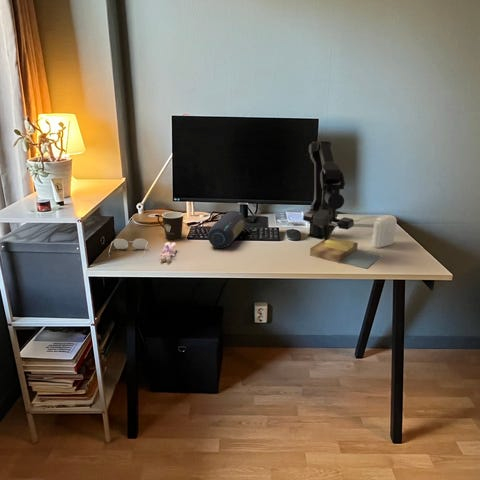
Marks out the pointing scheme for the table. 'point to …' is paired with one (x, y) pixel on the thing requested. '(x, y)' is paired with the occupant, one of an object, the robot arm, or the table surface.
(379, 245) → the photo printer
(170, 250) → the rabbit figure
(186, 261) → the table surface
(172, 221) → the coffee mug
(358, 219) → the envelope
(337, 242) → the pale yellow foam brick
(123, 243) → the sunglasses
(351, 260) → the mat
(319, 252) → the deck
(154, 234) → the table surface
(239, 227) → the portable speaker
